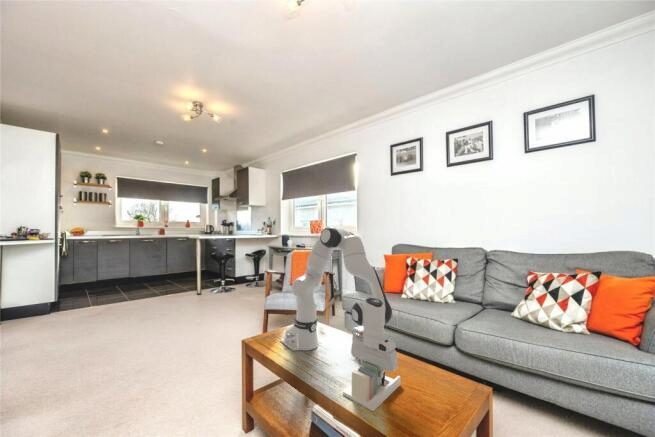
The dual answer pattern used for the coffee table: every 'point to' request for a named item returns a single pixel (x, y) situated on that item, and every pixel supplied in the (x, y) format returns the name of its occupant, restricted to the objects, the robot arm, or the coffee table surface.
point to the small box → (358, 330)
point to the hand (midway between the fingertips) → (372, 373)
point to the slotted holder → (370, 388)
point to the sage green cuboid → (374, 369)
